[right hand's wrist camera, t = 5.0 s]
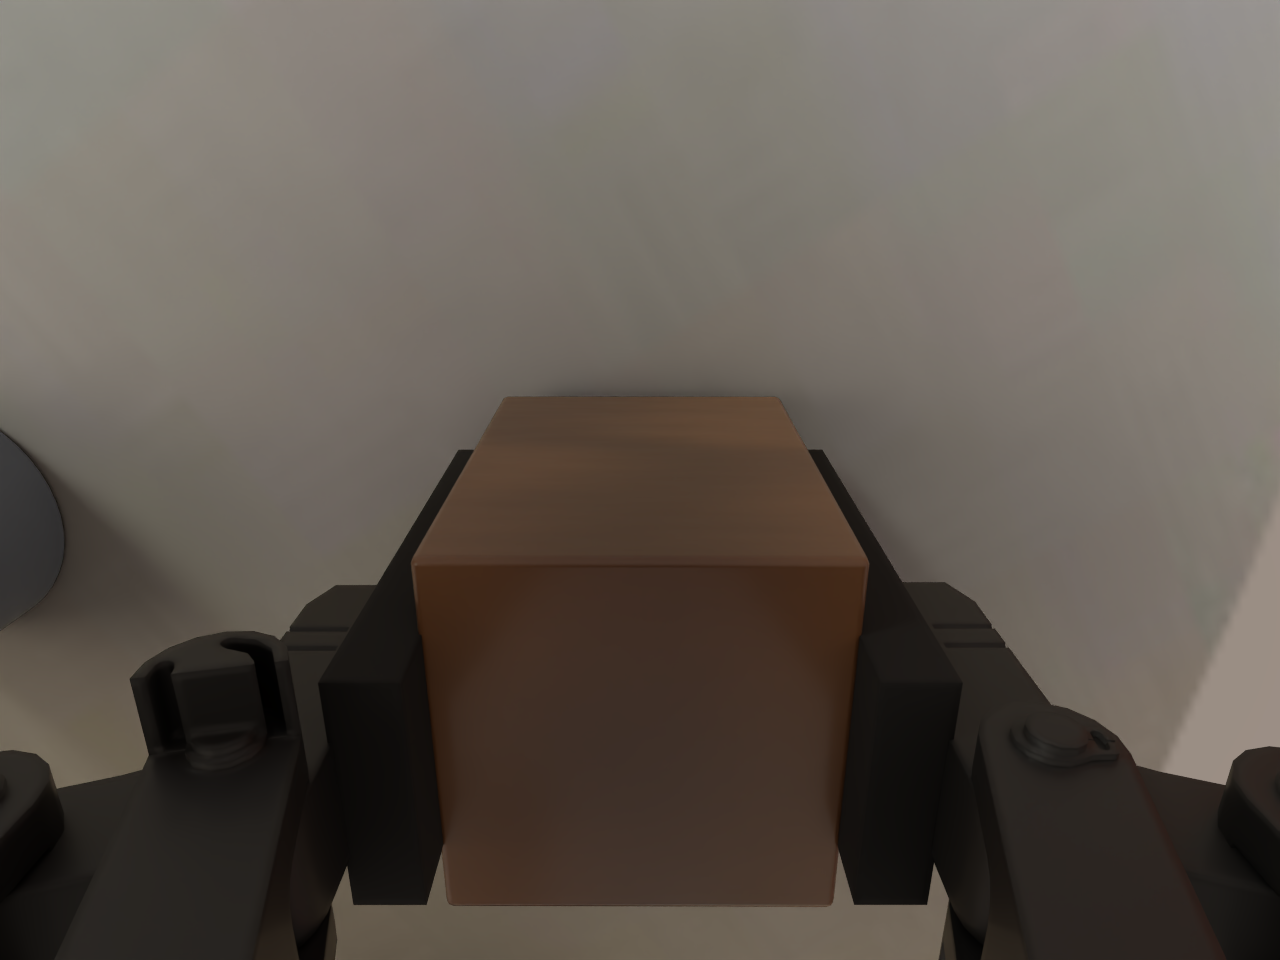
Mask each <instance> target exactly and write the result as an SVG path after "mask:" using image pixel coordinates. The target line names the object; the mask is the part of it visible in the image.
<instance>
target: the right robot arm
mask: <svg viewBox="0 0 1280 960" xmlns="http://www.w3.org/2000/svg"><path fill="white" fill-rule="evenodd" d="M473 451H474V450H458V452H457V453H456V455H455V457H454V458H453V460H452V462H451V463H450V465H449V467H448V468H447V470H446V472H445V473H444V475H443V477H442V478H441V480H440V482H439V483H438V485H437V487H436V488H435V490H434V491H433V493H432V495H431V496H430V498H429V500H428V501H427V503H426V505H425V506H424V508H423V510H422V511H421V513H420V515H419V516H418V518H417V520H416V521H415V523H414V525H413V526H412V528H411V530H410V531H409V533H408V534H407V536H406V538H405V539H404V541H403V543H402V544H401V546H400V548H399V549H398V551H397V553H396V554H395V556H394V558H393V559H392V561H391V563H390V564H389V566H388V568H387V569H386V571H385V573H384V574H383V576H382V578H381V579H380V581H379V582H378V584H377V585H336V586H334V587H333V588H331V589H330V590H328V591H327V592H325V593H323V594H322V595H320V596H319V597H317V598H316V599H314V600H313V601H311V602H310V603H308V604H307V605H306V606H305V607H304V609H303V610H302V611H301V613H300V614H299V615H298V617H297V618H296V620H295V621H294V622H293V624H292V625H291V626H290V632H286V633H285V635H284V636H283V637H282V639H281V640H278V639H277V638H276V637H275V636H271V635H267V634H263V633H259V632H255V631H235V632H222V633H217V634H212V635H207V636H202V637H197V638H194V639H191V640H189V641H186V642H183V643H181V644H178V645H175V646H173V647H170V648H168V649H166V650H164V651H163V652H161V653H160V654H158V655H156V656H155V657H153V658H151V659H150V660H148V661H146V662H145V663H144V664H143V665H142V666H141V667H140V668H139V669H138V670H137V671H136V673H135V674H134V675H133V676H132V677H131V678H130V682H131V686H132V690H133V694H134V698H135V702H136V706H137V710H138V713H139V717H140V721H141V725H142V729H143V733H144V737H145V741H146V745H147V749H148V753H149V757H148V759H147V761H146V763H145V765H144V767H143V770H140V771H136V772H133V773H129V774H125V775H121V776H117V777H112V778H107V779H102V780H97V781H92V782H88V783H83V784H78V785H73V786H68V787H63V788H59V789H56V786H55V783H54V779H53V776H52V773H51V770H50V766H49V764H48V763H46V762H45V761H44V760H43V759H42V758H40V757H39V756H38V755H37V754H33V753H27V752H21V751H15V750H10V751H1V752H0V960H335V953H336V945H337V935H336V928H335V921H334V915H333V909H332V901H333V899H334V896H335V894H336V891H337V889H338V886H339V884H340V881H341V879H342V877H343V874H344V872H345V869H346V867H348V873H349V879H350V886H351V892H352V898H353V904H354V905H427V901H428V897H429V894H430V890H431V887H432V883H433V880H434V876H435V873H436V869H437V866H438V862H439V859H440V855H441V852H442V848H443V836H442V826H441V817H440V807H439V798H438V788H437V779H436V769H435V760H434V750H433V741H432V731H431V722H430V712H429V703H428V693H427V684H426V674H425V665H424V656H423V646H422V637H421V635H419V632H418V626H417V616H416V607H415V598H414V589H413V579H412V570H411V561H412V558H413V556H414V554H415V553H416V551H417V549H418V547H419V546H420V544H421V542H422V540H423V539H424V537H425V535H426V533H427V532H428V530H429V528H430V526H431V525H432V523H433V521H434V519H435V518H436V516H437V514H438V512H439V511H440V509H441V507H442V505H443V504H444V502H445V500H446V498H447V497H448V495H449V493H450V492H451V490H452V488H453V486H454V485H455V483H456V481H457V479H458V478H459V476H460V474H461V472H462V471H463V469H464V467H465V465H466V464H467V462H468V460H469V458H470V457H471V455H472V453H473ZM808 452H809V453H810V455H811V457H812V459H813V461H814V463H815V464H816V466H817V468H818V470H819V472H820V473H821V475H822V477H823V479H824V481H825V482H826V484H827V486H828V488H829V490H830V491H831V493H832V495H833V497H834V499H835V500H836V502H837V504H838V506H839V508H840V509H841V511H842V513H843V515H844V517H845V519H846V520H847V522H848V524H849V526H850V528H851V529H852V531H853V533H854V535H855V537H856V538H857V540H858V542H859V544H860V546H861V547H862V549H863V551H864V553H865V555H866V556H867V559H868V561H869V572H868V582H867V591H866V600H865V610H864V619H863V628H862V634H861V636H860V639H859V648H858V658H857V667H856V676H855V686H854V695H853V705H852V714H851V724H850V733H849V743H848V752H847V761H846V771H845V780H844V790H843V799H842V809H841V818H840V827H839V837H838V849H839V852H840V856H841V860H842V863H843V867H844V870H845V874H846V877H847V881H848V884H849V888H850V891H851V895H852V898H853V902H854V905H927V902H928V896H929V890H930V884H931V877H932V871H933V865H934V863H935V866H936V868H937V870H938V873H939V875H940V878H941V880H942V883H943V885H944V887H945V890H946V892H947V895H948V897H949V903H948V909H947V915H946V921H945V926H944V932H943V938H942V944H941V949H940V955H939V960H1280V747H1270V746H1269V747H1262V748H1257V749H1250V750H1246V751H1244V752H1243V753H1242V754H1241V755H1240V756H1238V757H1237V758H1236V759H1235V760H1234V761H1233V763H1232V766H1231V769H1230V773H1229V776H1228V779H1227V782H1226V785H1221V784H1216V783H1211V782H1207V781H1202V780H1197V779H1192V778H1187V777H1183V776H1178V775H1173V774H1168V773H1163V772H1158V771H1155V770H1151V769H1147V768H1144V767H1140V766H1136V764H1135V762H1134V759H1133V757H1132V755H1131V753H1130V752H1129V751H1128V750H1127V748H1126V747H1125V746H1124V744H1123V743H1122V742H1121V740H1120V739H1119V738H1118V737H1117V736H1116V735H1115V734H1113V733H1112V732H1111V731H1109V730H1108V729H1106V728H1105V727H1104V726H1102V725H1101V724H1099V723H1098V722H1097V721H1095V720H1093V719H1091V718H1088V717H1086V716H1084V715H1081V714H1079V713H1077V712H1075V711H1072V710H1070V709H1068V708H1063V707H1059V706H1054V705H1051V704H1050V703H1049V701H1048V700H1047V699H1046V697H1045V696H1044V695H1043V693H1042V692H1041V691H1040V689H1039V688H1038V687H1037V685H1036V684H1035V682H1034V681H1033V680H1032V678H1031V677H1030V676H1029V674H1028V673H1027V672H1026V670H1025V669H1024V668H1023V666H1022V665H1021V664H1020V662H1019V661H1018V659H1017V658H1016V657H1015V655H1014V654H1013V653H1012V651H1011V650H1010V649H1009V648H1006V647H1005V642H1004V641H1003V639H1002V638H1001V636H1000V635H999V634H998V632H997V631H996V630H995V629H992V627H991V623H990V622H989V620H988V619H987V618H986V616H985V615H984V613H983V612H982V611H981V609H980V608H979V607H978V605H977V604H976V603H975V602H974V601H973V600H971V599H970V598H968V597H967V596H965V595H964V594H962V593H961V592H959V591H957V590H956V589H954V588H953V587H951V586H950V585H948V584H947V583H945V582H902V581H901V579H900V578H899V576H898V574H897V573H896V571H895V570H894V568H893V566H892V565H891V563H890V561H889V560H888V558H887V556H886V555H885V553H884V551H883V550H882V548H881V546H880V545H879V543H878V541H877V540H876V538H875V536H874V535H873V533H872V531H871V530H870V528H869V526H868V525H867V523H866V522H865V520H864V518H863V517H862V515H861V513H860V512H859V510H858V508H857V507H856V505H855V503H854V502H853V500H852V498H851V497H850V495H849V493H848V492H847V490H846V488H845V487H844V485H843V483H842V482H841V480H840V478H839V477H838V475H837V474H836V472H835V470H834V469H833V467H832V465H831V464H830V462H829V460H828V459H827V457H826V455H825V454H824V452H823V450H808Z"/></svg>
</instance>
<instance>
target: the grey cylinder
mask: <svg viewBox="0 0 1280 960" xmlns="http://www.w3.org/2000/svg"><path fill="white" fill-rule="evenodd" d="M63 554H64V529H63V524H62V519H61V515H60V512H59V509H58V506H57V503H56V500H55V498H54V496H53V494H52V492H51V489H50V487H49V486H48V484H47V482H46V481H45V479H44V477H43V476H42V474H41V473H40V471H39V470H38V469H37V467H36V466H35V465H34V463H33V462H32V461H31V460H30V458H29V457H28V456H27V455H26V454H25V453H24V452H23V451H22V450H21V449H20V448H19V447H18V446H17V445H16V444H15V443H14V442H13V441H11V440H10V439H9V438H8V437H7V436H6V435H4V434H3V433H2V432H1V431H0V631H1V630H2V629H3V628H5V627H6V626H8V625H9V624H10V623H12V622H13V621H14V620H16V619H17V618H19V617H20V616H21V615H23V614H24V613H26V612H27V611H28V610H30V609H31V608H33V607H34V606H35V605H37V604H38V603H39V602H40V601H41V600H42V599H43V598H44V597H45V596H46V594H47V593H48V592H49V590H50V589H51V587H52V586H53V584H54V582H55V580H56V578H57V576H58V574H59V571H60V568H61V564H62V561H63Z"/></svg>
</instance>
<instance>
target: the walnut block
mask: <svg viewBox="0 0 1280 960" xmlns="http://www.w3.org/2000/svg"><path fill="white" fill-rule="evenodd" d="M411 570H412V579H413V589H414V598H415V607H416V616H417V626H418V632H419V635H421V637H422V646H423V656H424V665H425V674H426V684H427V693H428V703H429V712H430V722H431V731H432V741H433V750H434V760H435V769H436V779H437V788H438V798H439V807H440V817H441V826H442V836H443V848H442V859H443V868H444V878H445V887H446V896H447V901H448V903H449V904H451V905H454V906H732V907H827V906H830V905H831V904H832V903H833V899H834V891H835V882H836V872H837V863H838V854H839V849H838V837H839V827H840V818H841V809H842V799H843V790H844V780H845V771H846V761H847V752H848V743H849V733H850V724H851V714H852V705H853V695H854V686H855V676H856V667H857V658H858V648H859V639H860V636H861V634H862V628H863V619H864V610H865V600H866V591H867V582H868V572H869V561H868V559H867V556H866V555H865V553H864V551H863V549H862V547H861V546H860V544H859V542H858V540H857V538H856V537H855V535H854V533H853V531H852V529H851V528H850V526H849V524H848V522H847V520H846V519H845V517H844V515H843V513H842V511H841V509H840V508H839V506H838V504H837V502H836V500H835V499H834V497H833V495H832V493H831V491H830V490H829V488H828V486H827V484H826V482H825V481H824V479H823V477H822V475H821V473H820V472H819V470H818V468H817V466H816V464H815V463H814V461H813V459H812V457H811V455H810V453H809V452H808V450H807V448H806V446H805V444H804V443H803V441H802V439H801V437H800V435H799V434H798V432H797V430H796V428H795V426H794V425H793V423H792V421H791V419H790V417H789V416H788V414H787V412H786V410H785V408H784V406H783V405H782V403H781V401H780V399H779V398H777V397H506V398H504V399H503V401H502V403H501V404H500V406H499V408H498V410H497V411H496V413H495V415H494V417H493V418H492V420H491V422H490V424H489V425H488V427H487V429H486V430H485V432H484V434H483V436H482V437H481V439H480V441H479V443H478V444H477V446H476V448H475V450H474V451H473V453H472V455H471V457H470V458H469V460H468V462H467V464H466V465H465V467H464V469H463V471H462V472H461V474H460V476H459V478H458V479H457V481H456V483H455V485H454V486H453V488H452V490H451V492H450V493H449V495H448V497H447V498H446V500H445V502H444V504H443V505H442V507H441V509H440V511H439V512H438V514H437V516H436V518H435V519H434V521H433V523H432V525H431V526H430V528H429V530H428V532H427V533H426V535H425V537H424V539H423V540H422V542H421V544H420V546H419V547H418V549H417V551H416V553H415V554H414V556H413V558H412V561H411Z"/></svg>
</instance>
